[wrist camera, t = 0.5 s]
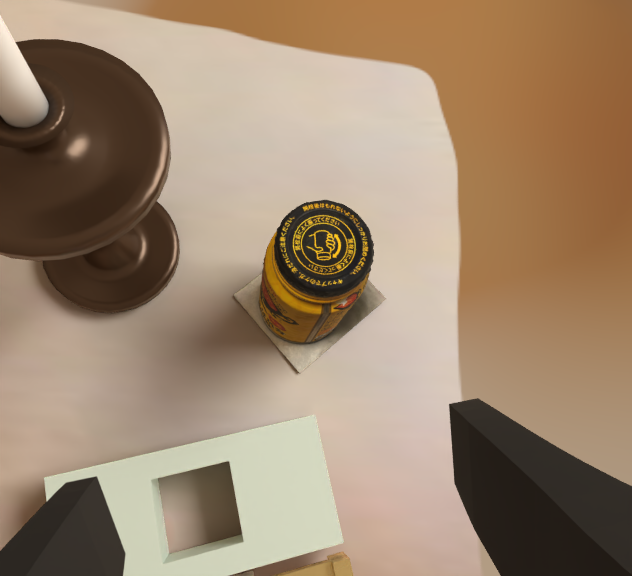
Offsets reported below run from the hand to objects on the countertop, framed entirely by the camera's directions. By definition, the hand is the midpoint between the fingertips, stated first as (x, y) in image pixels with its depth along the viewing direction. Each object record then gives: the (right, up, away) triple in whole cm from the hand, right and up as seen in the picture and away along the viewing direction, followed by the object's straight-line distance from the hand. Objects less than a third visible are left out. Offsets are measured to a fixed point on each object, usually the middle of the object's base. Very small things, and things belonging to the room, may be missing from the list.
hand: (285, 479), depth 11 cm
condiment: (0, +3, +28) cm, 28 cm away
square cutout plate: (-7, -10, +23) cm, 26 cm away
